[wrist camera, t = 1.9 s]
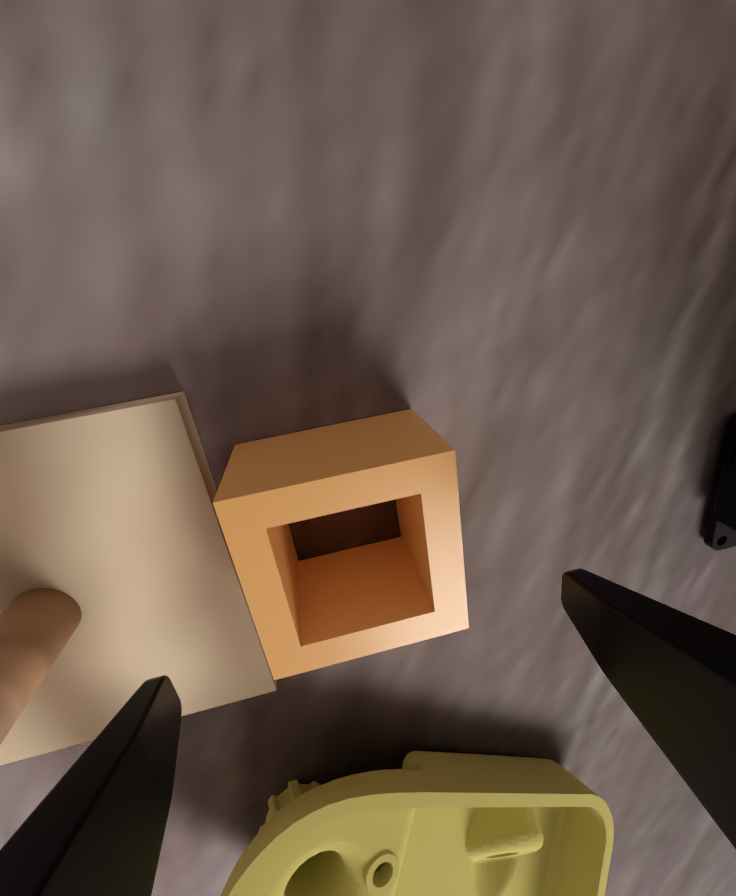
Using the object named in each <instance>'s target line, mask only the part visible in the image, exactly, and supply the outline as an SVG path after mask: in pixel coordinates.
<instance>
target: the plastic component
mask: <svg viewBox="0 0 736 896" xmlns="http://www.w3.org/2000/svg"><path fill="white" fill-rule="evenodd" d="M268 806H269V811H268V813H267V817H266V821H265V824H263V825H262V826H260V828H259V832H258V834H257V835H256V836H255V837H254V839H253V840H252V841H251V843H250V844H249V845H248V847H247V848H246V850H245V851H244V852H243V854H242V855H241V857H240V859H239V860H238V862H237V864H236V865H235V867H234V869H233V871H232V872H231V874H230V876H229V879H228V881H227V883H226V885H225V887H224V890H223V892H222V894H221V896H605V890H606V884H607V878H608V872H609V866H610V860H611V854H612V848H613V840H614V827H613V819H612V815H611V812H610V810H609V807H608V806H607V804H606V803H605V801H604V800H603V799H601V798H600V797H599V796H598V795H597V794H595V793H594V792H593V791H592V790H590V789H589V788H588V787H587V786H585V785H584V784H583V783H582V782H580V781H579V780H578V779H577V778H575V777H574V776H573V775H572V774H570V773H569V772H568V771H567V770H566V769H564V768H563V767H562V766H561V765H559V764H558V763H557V762H555V761H553V760H550V759H545V758H532V757H515V756H498V755H481V754H464V753H446V752H429V751H412V752H410V753H408V754H407V755H406V757H405V758H404V761H403V765H402V769H384V770H376V771H369V772H364V773H359V774H353V775H349V776H346V777H342V778H339V779H335V780H333V781H330V782H328V783H325V784H322V785H320V784H319V783H317V782H315V781H313V782H311V783H310V784H299V782H298V780H293V781H289V782H288V787H287V789H286V790H284V791H283V792H282V793H281V794H280V795H279V796H275V795H272V796H271V797H270V798H269V800H268Z"/></svg>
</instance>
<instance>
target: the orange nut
mask: <svg viewBox="0 0 736 896" xmlns="http://www.w3.org/2000/svg"><path fill="white" fill-rule="evenodd" d="M395 499H396V506H397V513H398V520H399V527H400V533H401V537H397V538H393V539H389V540H385V541H381V542H376V543H372V544H368V545H364V546H359V547H355V548H351V549H347V550H343V551H338V552H334V553H330V554H326V555H322V556H317V557H313V558H309V559H305V560H301V561H298V557H297V553H296V550H295V546H294V542H293V538H292V535H291V531H290V527H289V523H293V522H298V521H302V520H307V519H311V518H315V517H320V516H324V515H329V514H333V513H337V512H342V511H346V510H351V509H355V508H359V507H364V506H368V505H373V504H377V503H382V502H386V501H390V500H395ZM213 505H214V508H215V511H216V514H217V517H218V519H219V522H220V525H221V528H222V531H223V534H224V537H225V540H226V543H227V546H228V548H229V551H230V554H231V557H232V560H233V563H234V566H235V569H236V572H237V575H238V577H239V580H240V583H241V586H242V589H243V592H244V595H245V598H246V601H247V604H248V606H249V609H250V612H251V615H252V618H253V621H254V624H255V627H256V630H257V633H258V635H259V638H260V641H261V644H262V647H263V650H264V653H265V656H266V659H267V661H268V664H269V667H270V670H271V673H272V676H273V679H274V680H277V679H281V678H285V677H289V676H292V675H296V674H300V673H304V672H307V671H311V670H315V669H319V668H322V667H326V666H330V665H333V664H337V663H341V662H345V661H348V660H352V659H356V658H360V657H363V656H367V655H371V654H375V653H378V652H382V651H386V650H389V649H393V648H397V647H401V646H404V645H408V644H412V643H416V642H419V641H423V640H427V639H431V638H434V637H438V636H442V635H446V634H449V633H453V632H457V631H460V630H464V629H468V628H469V624H468V611H467V598H466V585H465V572H464V559H463V546H462V533H461V520H460V507H459V494H458V481H457V468H456V455H455V450H454V449H453V448H452V447H451V446H450V445H449V444H448V443H447V442H446V441H445V440H444V439H443V438H442V437H441V436H440V435H439V434H438V433H436V432H435V431H434V430H433V429H432V428H431V427H430V426H429V425H428V424H427V423H426V422H425V421H424V420H423V419H422V418H421V417H420V416H418V415H417V414H416V413H415V412H414V411H413V410H412V409H408V410H403V411H398V412H393V413H388V414H384V415H379V416H374V417H369V418H364V419H359V420H354V421H349V422H344V423H339V424H334V425H329V426H324V427H319V428H315V429H310V430H305V431H300V432H295V433H290V434H285V435H280V436H275V437H270V438H265V439H260V440H255V441H250V442H246V443H241V444H236V445H235V446H234V449H233V451H232V454H231V457H230V459H229V462H228V464H227V467H226V470H225V472H224V475H223V477H222V480H221V483H220V485H219V488H218V490H217V493H216V496H215V498H214V501H213Z"/></svg>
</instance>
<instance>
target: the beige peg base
mask: <svg viewBox="0 0 736 896" xmlns="http://www.w3.org/2000/svg"><path fill="white" fill-rule="evenodd" d="M216 493H217V488H216V485H215V482H214V479H213V476H212V474H211V471H210V468H209V465H208V462H207V459H206V456H205V453H204V450H203V447H202V444H201V441H200V438H199V435H198V432H197V429H196V426H195V423H194V420H193V417H192V414H191V411H190V408H189V405H188V402H187V399H186V396H185V393H184V391H183V392H178V393H172V394H167V395H162V396H156V397H151V398H145V399H140V400H135V401H129V402H124V403H119V404H113V405H108V406H103V407H97V408H92V409H86V410H81V411H76V412H70V413H65V414H60V415H54V416H49V417H43V418H38V419H33V420H27V421H22V422H17V423H11V424H6V425H1V426H0V765H4V764H7V763H11V762H15V761H18V760H22V759H26V758H29V757H33V756H37V755H41V754H44V753H48V752H52V751H55V750H59V749H63V748H66V747H70V746H74V745H77V744H81V743H85V742H89V741H92V740H95V738H96V737H97V736H98V735H99V734H100V733H101V731H102V730H103V729H104V728H105V727H106V726H107V724H108V723H109V722H110V721H111V720H112V719H113V717H114V716H115V715H116V714H117V713H118V712H119V710H120V709H121V708H122V707H123V706H124V705H125V703H126V702H127V701H128V700H129V699H130V698H131V696H132V695H133V694H134V693H135V692H136V691H137V689H138V688H139V687H140V686H141V685H142V684H143V683H144V682H145V681H146V680H148V679H151V678H155V677H159V676H163V675H166V676H168V677H169V678H170V680H171V682H172V684H173V686H174V688H175V690H176V692H177V694H178V696H179V698H180V701H181V705H182V715H181V716H185V715H188V714H192V713H196V712H199V711H203V710H207V709H210V708H214V707H218V706H221V705H225V704H229V703H233V702H236V701H240V700H244V699H247V698H251V697H255V696H258V695H262V694H266V693H269V692H273V691H276V685H277V680H274V679H273V676H272V673H271V670H270V667H269V664H268V661H267V659H266V656H265V653H264V650H263V647H262V644H261V641H260V638H259V635H258V633H257V630H256V627H255V624H254V621H253V618H252V615H251V612H250V609H249V606H248V604H247V601H246V598H245V595H244V592H243V589H242V586H241V583H240V580H239V577H238V575H237V572H236V569H235V566H234V563H233V560H232V557H231V554H230V551H229V548H228V546H227V543H226V540H225V537H224V534H223V531H222V528H221V525H220V522H219V519H218V517H217V514H216V511H215V508H214V505H213V501H214V498H215V496H216Z"/></svg>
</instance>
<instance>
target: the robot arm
mask: <svg viewBox="0 0 736 896" xmlns="http://www.w3.org/2000/svg"><path fill="white" fill-rule="evenodd" d="M704 543H705V544H706V545H708V546H709V547H711V548H713V549H715V550H722V549H726V548H730V547H733V546H736V413H734V414H733V415H732V416H731V417H730V418H729V420H728V421H727V424H726V428H725V433H724V439H723V444H722V449H721V454H720V459H719V464H718V469H717V474H716V479H715V484H714V489H713V494H712V499H711V505H710V510H709V515H708V520H707V525H706V530H705V535H704ZM561 600H562V604H563V607H564V609H565V611H566V613H567V614H568V616H569V618H570V619H571V621H572V622H573V624H574V626H575V627H576V629H577V631H578V632H579V634H580V636H581V637H582V639H583V640H584V642H585V644H586V645H587V647H588V649H589V650H590V652H591V653H592V655H593V657H594V658H595V660H596V662H597V663H598V665H599V666H600V668H601V669H602V671H603V672H604V674H605V675H606V677H607V678H608V679H609V681H610V682H611V683H612V685H613V686H614V687H615V689H616V690H617V691H618V693H619V694H620V695H621V697H622V698H623V699H624V701H625V702H626V703H627V705H628V706H629V707H630V709H631V710H632V711H633V713H634V714H635V715H636V717H637V718H638V719H639V721H640V722H641V723H642V725H643V726H644V727H645V729H646V730H647V731H648V733H649V734H650V735H651V737H652V738H653V739H654V741H655V742H656V744H657V745H658V746H659V748H660V749H661V750H662V752H663V753H664V754H665V756H666V757H667V758H668V760H669V761H670V762H671V764H672V765H673V766H674V768H675V769H676V770H677V772H678V773H679V774H680V776H681V777H682V778H683V780H684V781H685V782H686V784H687V785H688V786H689V788H690V789H691V790H692V792H693V793H694V794H695V796H696V797H697V798H698V800H699V801H700V802H701V804H702V805H703V806H704V808H705V809H706V810H707V812H708V813H709V814H710V816H711V817H712V818H713V820H714V821H715V822H716V824H717V825H718V826H719V828H720V829H721V830H722V832H723V833H724V834H725V836H726V837H727V838H728V840H729V841H730V842H731V844H732V845H733V846H734V848H735V849H736V635H734V634H732V633H729V632H727V631H725V630H722V629H720V628H718V627H716V626H713V625H711V624H709V623H706V622H704V621H702V620H699V619H697V618H695V617H692V616H690V615H688V614H686V613H683V612H681V611H679V610H676V609H674V608H672V607H669V606H667V605H665V604H662V603H660V602H658V601H655V600H653V599H651V598H649V597H646V596H644V595H642V594H639V593H637V592H635V591H632V590H630V589H628V588H625V587H623V586H621V585H619V584H616V583H614V582H612V581H609V580H607V579H605V578H602V577H600V576H598V575H595V574H593V573H591V572H588V571H586V570H584V569H575V570H571V571H567V572H565V573H564V574H563V575H562V594H561ZM181 715H182V705H181V701H180V698H179V696H178V694H177V692H176V690H175V688H174V686H173V684H172V682H171V680H170V678H169V677H168V676H166V675H163V676H159V677H155V678H151V679H148V680H146V681H145V682H144V683H143V684H142V685H141V686H140V687H139V688H138V689H137V691H136V692H135V693H134V694H133V695H132V696H131V698H130V699H129V700H128V701H127V702H126V703H125V705H124V706H123V707H122V708H121V709H120V710H119V712H118V713H117V714H116V715H115V716H114V717H113V719H112V720H111V721H110V722H109V723H108V724H107V726H106V727H105V728H104V729H103V730H102V731H101V733H100V734H99V735H98V736H97V737H96V738H95V740H94V741H93V742H92V743H91V744H90V746H89V747H88V748H87V749H86V750H85V751H84V753H83V754H82V755H81V756H80V757H79V758H78V760H77V761H76V762H75V763H74V764H73V765H72V767H71V768H70V769H69V770H68V771H67V772H66V774H65V775H64V776H63V777H62V778H61V779H60V781H59V782H58V783H57V784H56V785H55V786H54V788H53V789H52V790H51V791H50V792H49V793H48V795H47V796H46V797H45V798H44V799H43V800H42V802H41V803H40V804H39V805H38V806H37V807H36V809H35V810H34V811H33V812H32V813H31V814H30V816H29V817H28V818H27V819H26V820H25V821H24V823H23V824H22V825H21V826H20V827H19V828H18V830H17V831H16V832H15V833H14V834H13V835H12V837H11V838H10V839H9V840H8V841H7V843H6V844H5V845H4V846H3V847H2V848H1V850H0V896H151V893H152V889H153V884H154V879H155V874H156V870H157V865H158V860H159V856H160V851H161V846H162V841H163V837H164V832H165V827H166V823H167V818H168V813H169V808H170V803H171V797H172V791H173V783H174V775H175V766H176V758H177V749H178V740H179V732H180V723H181Z"/></svg>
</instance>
